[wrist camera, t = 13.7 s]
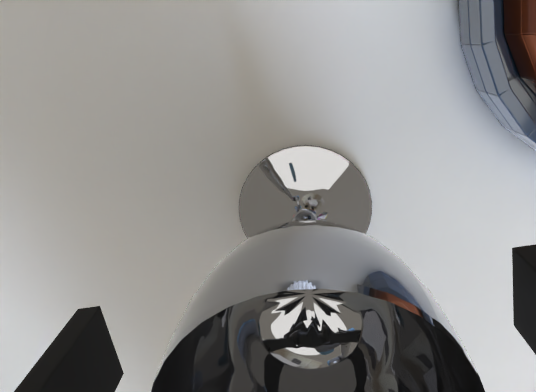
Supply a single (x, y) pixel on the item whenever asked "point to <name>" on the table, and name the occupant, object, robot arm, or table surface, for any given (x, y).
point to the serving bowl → (496, 68)
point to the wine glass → (312, 298)
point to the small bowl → (522, 37)
